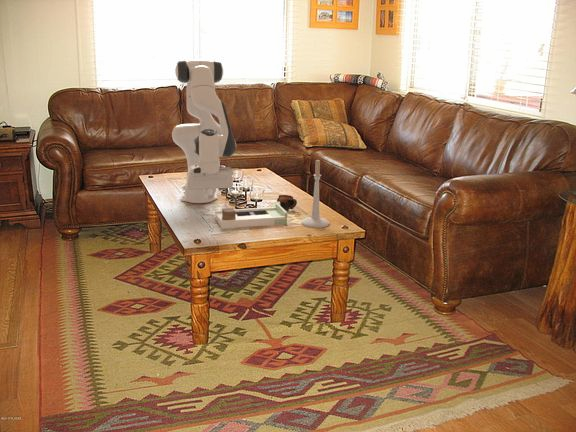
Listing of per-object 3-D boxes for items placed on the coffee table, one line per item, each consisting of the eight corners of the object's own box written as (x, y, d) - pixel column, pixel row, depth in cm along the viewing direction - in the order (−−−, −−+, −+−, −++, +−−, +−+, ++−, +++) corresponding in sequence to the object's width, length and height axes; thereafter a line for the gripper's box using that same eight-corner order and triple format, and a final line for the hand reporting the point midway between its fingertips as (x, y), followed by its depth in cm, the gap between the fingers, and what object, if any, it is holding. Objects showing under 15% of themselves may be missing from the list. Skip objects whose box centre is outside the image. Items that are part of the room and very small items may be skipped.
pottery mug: (271, 210, 303) (273, 194, 305) (283, 215, 311) (284, 199, 313) (291, 209, 296) (292, 192, 298) (302, 213, 304) (304, 197, 305)
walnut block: (222, 218, 280) (222, 208, 278) (233, 217, 281) (233, 208, 280) (224, 221, 275) (224, 211, 274) (235, 220, 277) (235, 211, 275)
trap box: (215, 218, 288) (215, 206, 286) (277, 213, 297) (277, 202, 295) (222, 228, 273) (222, 216, 272) (286, 224, 282) (287, 212, 281)
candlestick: (308, 229, 276) (311, 163, 267) (296, 220, 287) (298, 157, 278) (334, 226, 281) (337, 161, 272) (321, 218, 292) (324, 155, 283)
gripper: (231, 165, 274) (231, 195, 278) (185, 167, 268) (186, 197, 272) (234, 168, 268) (234, 198, 272) (187, 170, 262) (188, 201, 266)
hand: (209, 198), depth 272 cm, fingers closed
